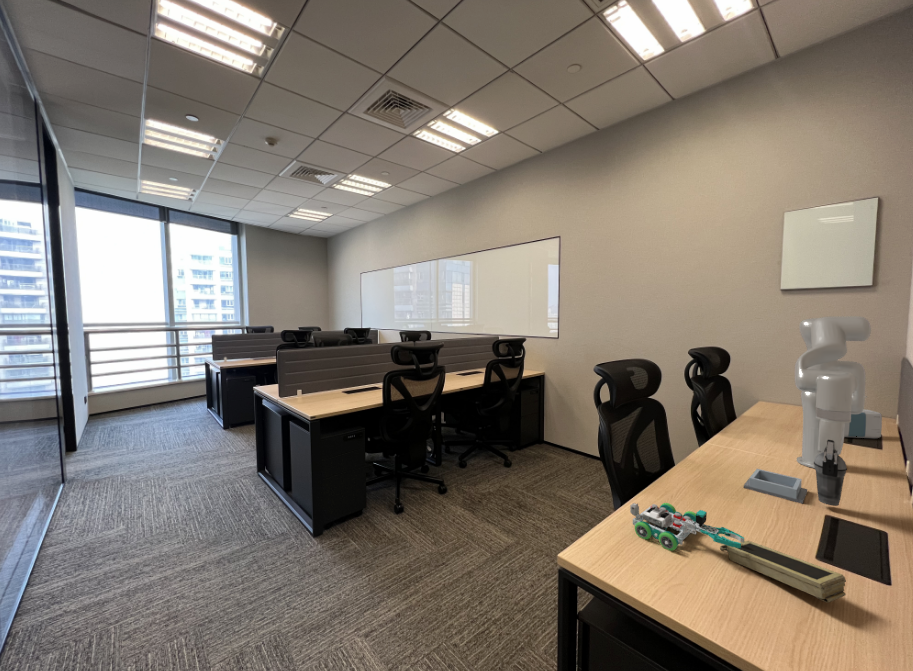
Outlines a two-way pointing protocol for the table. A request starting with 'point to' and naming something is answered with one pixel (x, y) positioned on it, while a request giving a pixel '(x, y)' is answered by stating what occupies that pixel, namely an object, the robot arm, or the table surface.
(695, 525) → the robot kit
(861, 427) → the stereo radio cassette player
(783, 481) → the blue-grey tray
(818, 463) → the beverage cup
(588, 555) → the table surface
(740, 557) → the box
